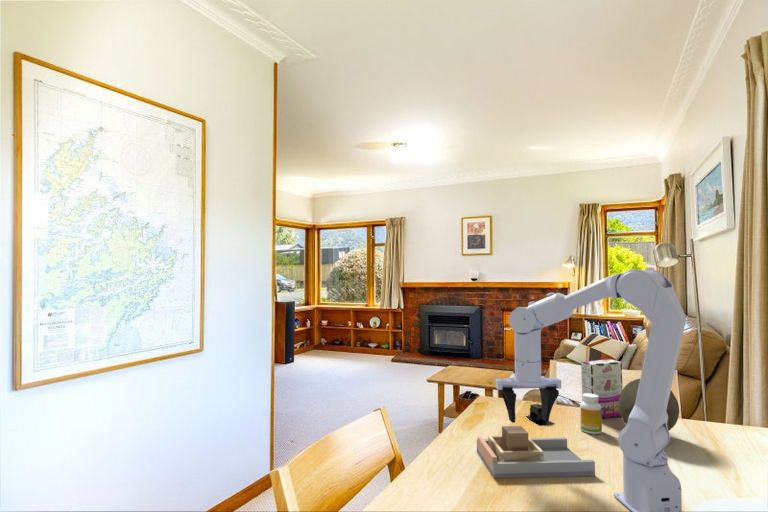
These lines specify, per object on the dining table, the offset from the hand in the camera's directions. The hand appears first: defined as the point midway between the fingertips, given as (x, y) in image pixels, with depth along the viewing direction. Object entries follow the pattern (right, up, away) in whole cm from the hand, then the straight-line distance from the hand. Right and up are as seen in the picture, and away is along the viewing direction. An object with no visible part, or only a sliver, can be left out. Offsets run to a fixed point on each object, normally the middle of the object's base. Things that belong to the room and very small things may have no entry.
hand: (528, 420), depth 99 cm
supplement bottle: (+24, -11, +21) cm, 34 cm away
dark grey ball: (+37, -11, +17) cm, 42 cm away
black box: (+13, -12, +30) cm, 35 cm away
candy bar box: (+33, -11, +34) cm, 49 cm away
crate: (-3, -9, +1) cm, 9 cm away
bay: (+1, -10, +1) cm, 10 cm away
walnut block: (-3, -8, +1) cm, 9 cm away
